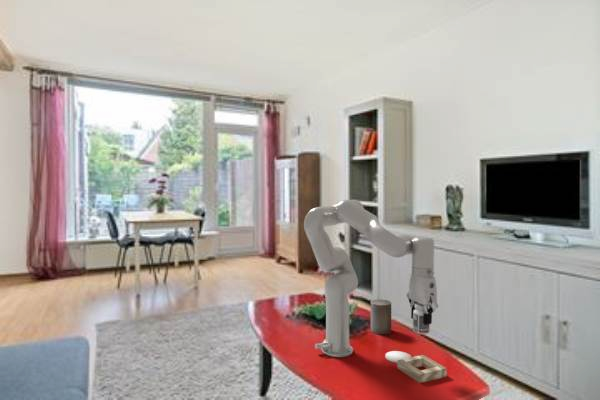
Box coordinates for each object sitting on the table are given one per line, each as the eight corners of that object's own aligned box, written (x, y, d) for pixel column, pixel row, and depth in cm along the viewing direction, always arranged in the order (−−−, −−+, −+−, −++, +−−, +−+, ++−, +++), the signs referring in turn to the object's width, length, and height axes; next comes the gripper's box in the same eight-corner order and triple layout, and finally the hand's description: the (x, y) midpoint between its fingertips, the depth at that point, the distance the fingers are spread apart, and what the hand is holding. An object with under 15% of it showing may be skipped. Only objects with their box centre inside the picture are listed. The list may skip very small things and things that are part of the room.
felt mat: (396, 365, 143) (396, 363, 143) (380, 354, 152) (380, 353, 152) (417, 360, 147) (417, 359, 147) (400, 350, 156) (400, 349, 156)
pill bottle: (430, 331, 139) (431, 304, 138) (427, 336, 134) (427, 308, 134) (415, 327, 142) (415, 301, 141) (410, 332, 137) (411, 305, 137)
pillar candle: (395, 330, 179) (395, 299, 179) (384, 336, 172) (384, 303, 172) (377, 326, 186) (377, 295, 186) (366, 331, 179) (366, 299, 179)
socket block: (419, 383, 130) (419, 374, 130) (397, 368, 141) (397, 360, 141) (446, 376, 135) (446, 368, 135) (422, 362, 146) (422, 354, 146)
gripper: (448, 275, 131) (447, 327, 131) (414, 266, 147) (413, 312, 147) (431, 277, 128) (430, 330, 128) (398, 267, 144) (397, 315, 144)
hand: (421, 320), depth 138 cm, fingers closed on pill bottle, 5 cm apart
